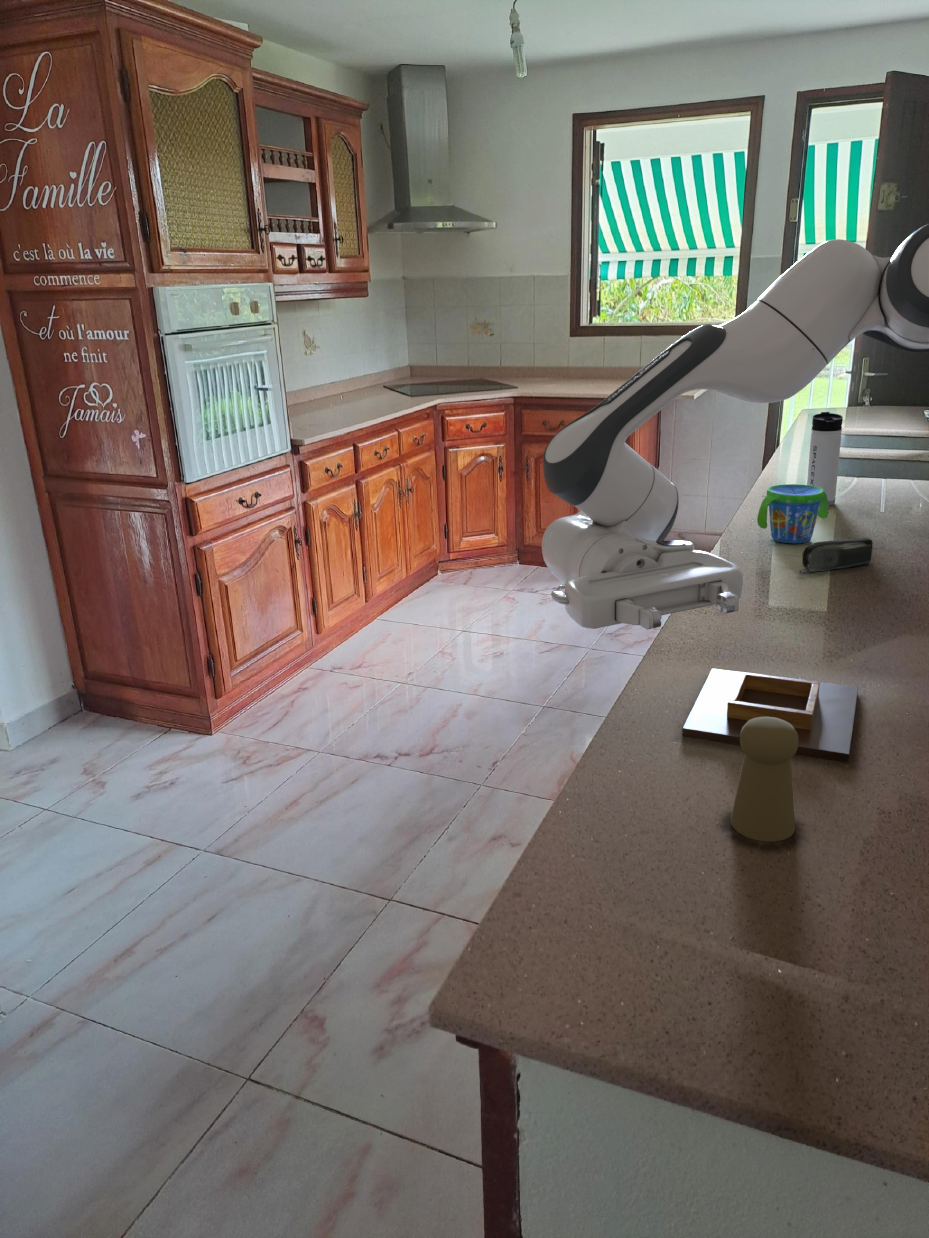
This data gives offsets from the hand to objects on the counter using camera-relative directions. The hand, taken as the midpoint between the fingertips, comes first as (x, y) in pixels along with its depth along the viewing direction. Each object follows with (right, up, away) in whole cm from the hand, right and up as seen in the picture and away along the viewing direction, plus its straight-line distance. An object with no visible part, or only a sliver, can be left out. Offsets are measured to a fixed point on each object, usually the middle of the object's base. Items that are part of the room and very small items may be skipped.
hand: (695, 613), depth 90 cm
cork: (+5, -21, -4) cm, 22 cm away
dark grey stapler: (+42, +8, +66) cm, 79 cm away
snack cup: (+41, +15, +84) cm, 95 cm away
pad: (+14, -12, +17) cm, 25 cm away
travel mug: (+57, +26, +110) cm, 126 cm away
